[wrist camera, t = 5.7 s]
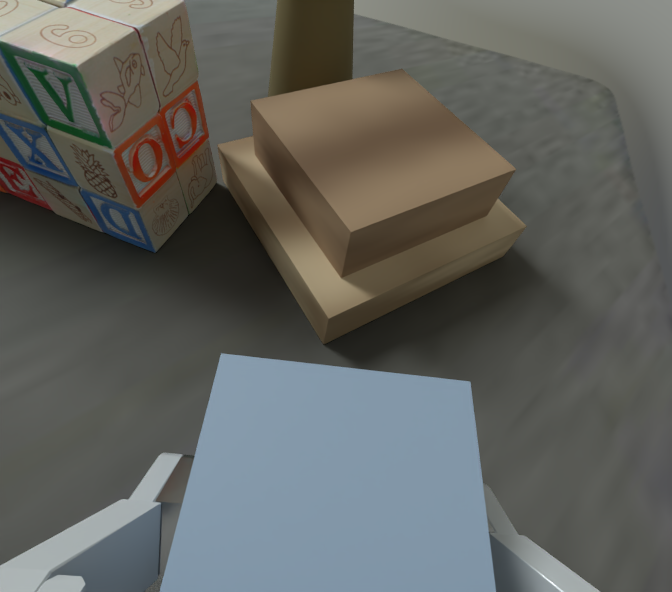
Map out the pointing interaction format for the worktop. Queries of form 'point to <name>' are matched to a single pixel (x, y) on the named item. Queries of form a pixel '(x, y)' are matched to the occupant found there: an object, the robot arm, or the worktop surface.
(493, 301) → the worktop surface
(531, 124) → the worktop surface
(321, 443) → the pillar
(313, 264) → the plinth
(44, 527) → the worktop surface
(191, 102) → the stack of blocks
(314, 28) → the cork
